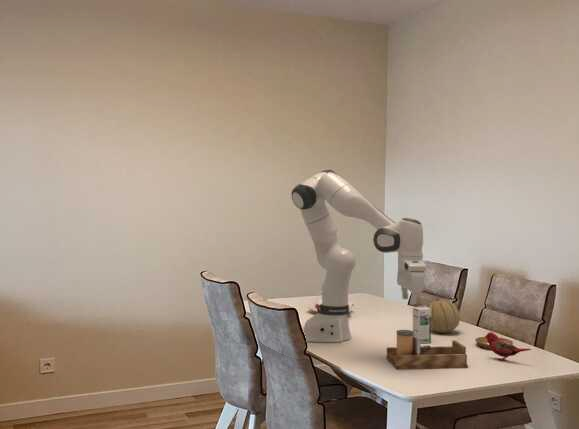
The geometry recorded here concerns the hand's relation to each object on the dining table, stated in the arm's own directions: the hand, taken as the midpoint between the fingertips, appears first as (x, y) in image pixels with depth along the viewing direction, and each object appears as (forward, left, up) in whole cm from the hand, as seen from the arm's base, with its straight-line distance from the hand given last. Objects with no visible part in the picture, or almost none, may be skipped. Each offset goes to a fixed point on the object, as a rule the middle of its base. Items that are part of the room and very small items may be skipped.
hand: (409, 301), depth 229 cm
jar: (-1, 0, -22) cm, 22 cm away
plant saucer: (+43, +22, -23) cm, 53 cm away
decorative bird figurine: (+38, 0, -23) cm, 44 cm away
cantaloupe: (+31, +48, -23) cm, 61 cm away
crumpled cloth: (-10, +93, -23) cm, 96 cm away
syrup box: (+16, +32, -23) cm, 42 cm away
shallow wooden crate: (+7, 0, -23) cm, 24 cm away
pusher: (+5, 0, -22) cm, 22 cm away
